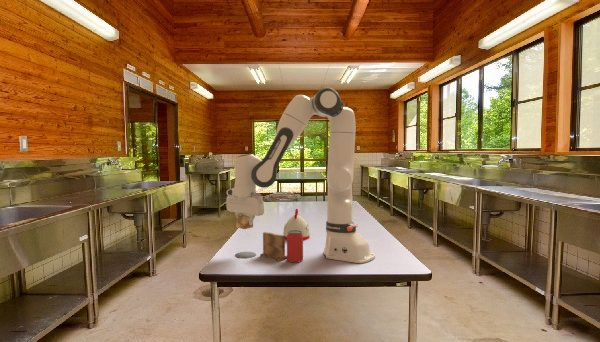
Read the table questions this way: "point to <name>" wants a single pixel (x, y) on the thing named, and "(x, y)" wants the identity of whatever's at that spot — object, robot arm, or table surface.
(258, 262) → the table surface
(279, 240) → the screen
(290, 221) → the kitchen timer
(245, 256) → the slate mat
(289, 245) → the beer can
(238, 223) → the letter cube
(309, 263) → the table surface
